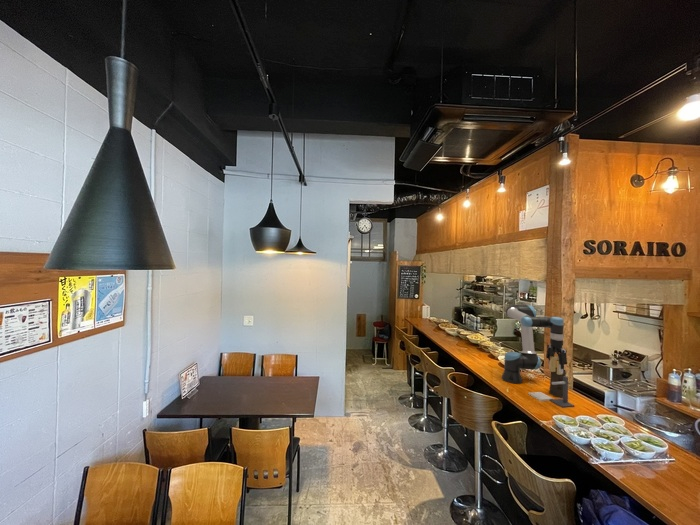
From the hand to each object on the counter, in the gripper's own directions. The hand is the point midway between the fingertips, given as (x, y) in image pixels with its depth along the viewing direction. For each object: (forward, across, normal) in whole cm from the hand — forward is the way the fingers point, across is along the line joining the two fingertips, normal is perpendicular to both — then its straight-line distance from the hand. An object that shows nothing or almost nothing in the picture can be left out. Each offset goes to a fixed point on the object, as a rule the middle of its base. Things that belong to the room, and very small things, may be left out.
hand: (556, 371), depth 202 cm
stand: (+23, 0, +3) cm, 24 cm away
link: (+1, 0, 0) cm, 1 cm away
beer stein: (+24, -15, +16) cm, 32 cm away
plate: (+24, -11, -2) cm, 26 cm away
